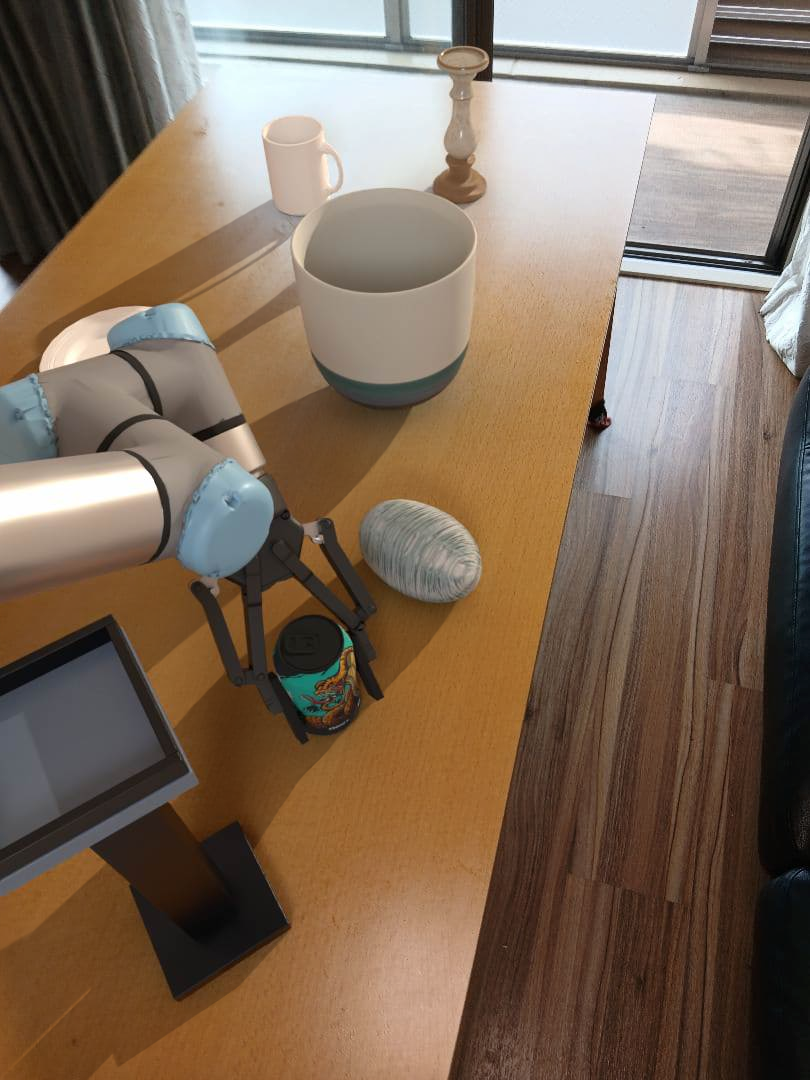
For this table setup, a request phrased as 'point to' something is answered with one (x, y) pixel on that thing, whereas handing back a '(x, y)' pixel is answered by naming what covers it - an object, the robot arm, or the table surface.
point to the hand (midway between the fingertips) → (339, 716)
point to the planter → (386, 293)
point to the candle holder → (461, 127)
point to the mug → (298, 163)
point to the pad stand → (122, 804)
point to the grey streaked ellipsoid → (420, 551)
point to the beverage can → (318, 673)
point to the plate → (85, 338)
